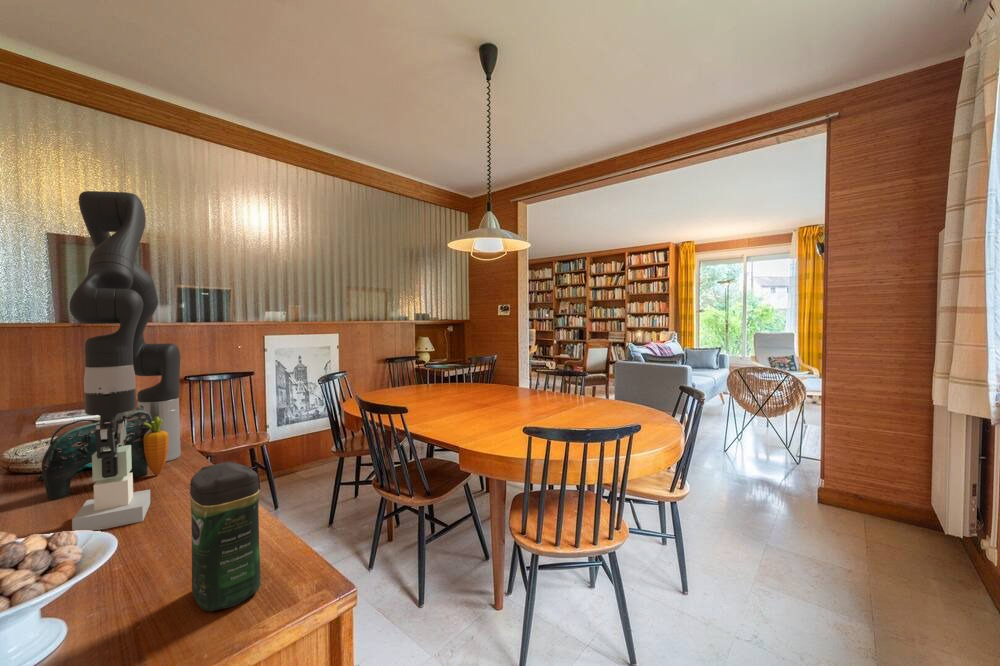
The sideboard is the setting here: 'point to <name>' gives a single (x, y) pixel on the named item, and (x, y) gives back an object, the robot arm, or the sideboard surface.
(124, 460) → the sage block
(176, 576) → the sideboard surface
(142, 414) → the dark green arched piece
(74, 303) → the robot arm
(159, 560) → the sideboard surface
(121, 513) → the base slab
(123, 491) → the cream block
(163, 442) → the carrot
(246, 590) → the coffee jar
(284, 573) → the sideboard surface
